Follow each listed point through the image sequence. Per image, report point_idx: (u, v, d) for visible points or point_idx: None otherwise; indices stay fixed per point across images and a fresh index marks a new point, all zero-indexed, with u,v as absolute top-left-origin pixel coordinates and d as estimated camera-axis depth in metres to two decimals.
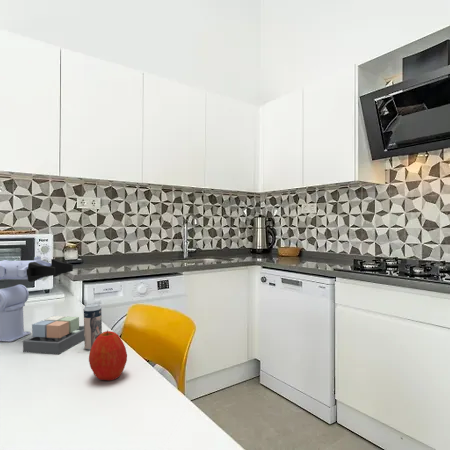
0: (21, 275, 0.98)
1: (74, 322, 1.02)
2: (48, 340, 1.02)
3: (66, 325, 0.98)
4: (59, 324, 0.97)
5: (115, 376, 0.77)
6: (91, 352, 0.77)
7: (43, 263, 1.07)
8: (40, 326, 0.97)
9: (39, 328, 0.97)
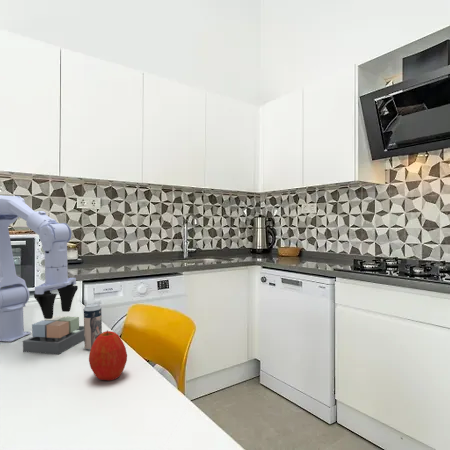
0: (35, 291, 0.91)
1: (74, 322, 1.02)
2: (48, 340, 1.02)
3: (66, 325, 0.98)
4: (59, 324, 0.97)
5: (115, 376, 0.77)
6: (91, 352, 0.77)
7: None
8: (40, 326, 0.97)
9: (39, 328, 0.97)
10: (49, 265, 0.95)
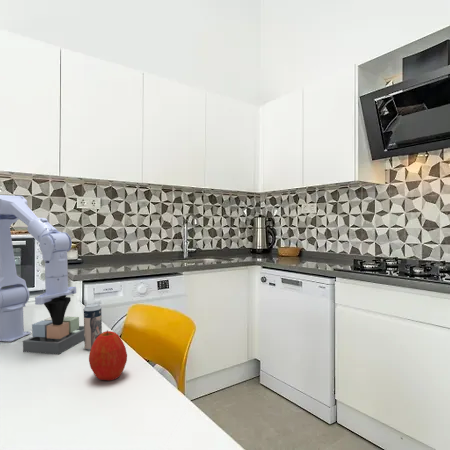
0: (36, 301, 0.91)
1: (74, 322, 1.02)
2: (48, 340, 1.02)
3: (66, 326, 0.98)
4: (59, 325, 0.97)
5: (115, 376, 0.77)
6: (91, 352, 0.77)
7: None
8: (40, 326, 0.97)
9: (39, 328, 0.97)
10: (49, 275, 0.95)
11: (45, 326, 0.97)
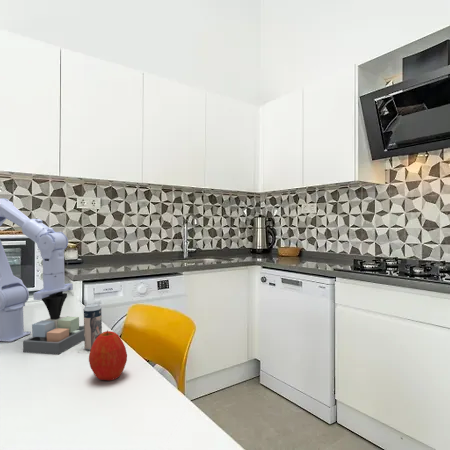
0: (34, 296, 0.96)
1: (74, 322, 1.02)
2: None
3: (66, 332, 0.98)
4: (59, 331, 0.97)
5: (115, 376, 0.77)
6: (91, 352, 0.77)
7: None
8: (40, 326, 0.97)
9: (39, 328, 0.97)
10: (49, 272, 1.00)
11: (45, 326, 0.97)
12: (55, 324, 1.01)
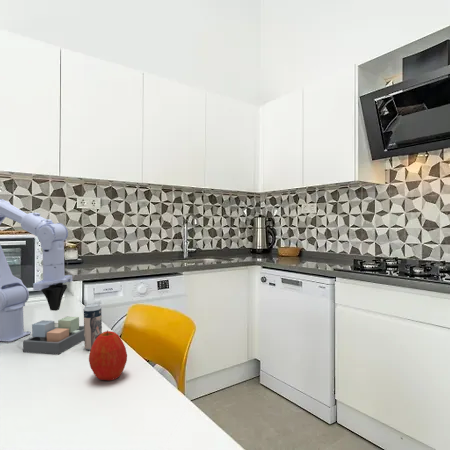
0: (34, 287, 0.96)
1: (74, 322, 1.02)
2: None
3: (66, 332, 0.98)
4: (59, 331, 0.97)
5: (115, 376, 0.77)
6: (91, 352, 0.77)
7: None
8: (40, 326, 0.97)
9: (39, 328, 0.97)
10: (49, 263, 1.00)
11: (45, 326, 0.97)
12: None
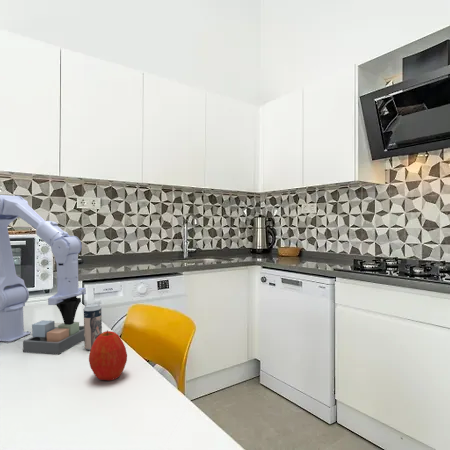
0: (49, 302, 0.95)
1: (74, 327, 1.02)
2: None
3: (66, 332, 0.98)
4: (59, 331, 0.97)
5: (115, 376, 0.77)
6: (91, 352, 0.77)
7: None
8: (40, 326, 0.97)
9: (39, 328, 0.97)
10: (63, 277, 0.99)
11: (45, 326, 0.97)
12: None
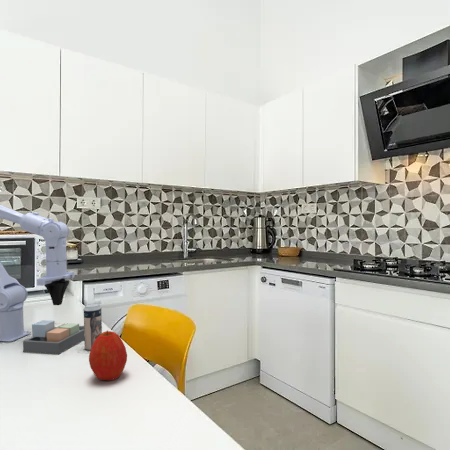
0: (37, 282, 1.01)
1: (74, 329, 1.02)
2: None
3: (66, 332, 0.98)
4: (59, 331, 0.97)
5: (115, 376, 0.77)
6: (91, 352, 0.77)
7: None
8: (40, 326, 0.97)
9: (39, 328, 0.97)
10: (54, 259, 1.05)
11: (45, 326, 0.97)
12: None
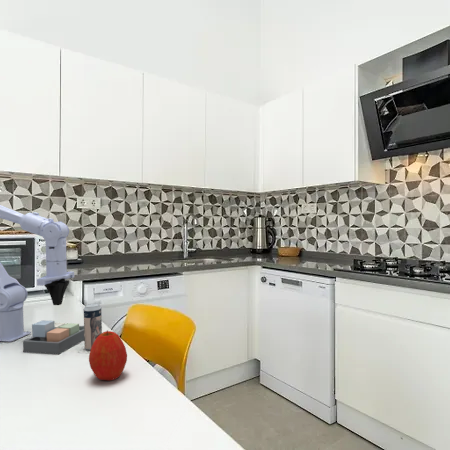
0: (37, 282, 1.01)
1: (74, 329, 1.02)
2: None
3: (66, 332, 0.98)
4: (59, 331, 0.97)
5: (115, 376, 0.77)
6: (91, 352, 0.77)
7: None
8: (40, 326, 0.97)
9: (39, 328, 0.97)
10: (54, 259, 1.05)
11: (45, 326, 0.97)
12: None
